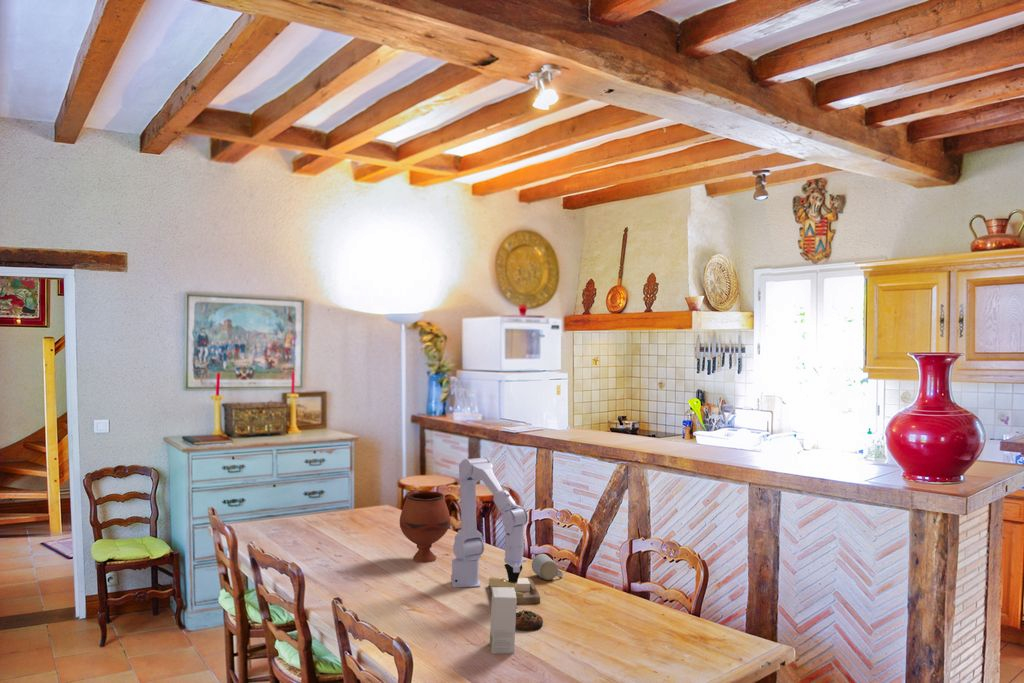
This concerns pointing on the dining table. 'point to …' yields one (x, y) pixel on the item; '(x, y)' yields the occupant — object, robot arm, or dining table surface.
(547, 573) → the ceramic mug
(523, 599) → the board
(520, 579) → the cream cover
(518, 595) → the brass T-key
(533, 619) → the bread roll
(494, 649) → the skincare box
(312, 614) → the dining table surface
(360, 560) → the dining table surface
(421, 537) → the goblet
